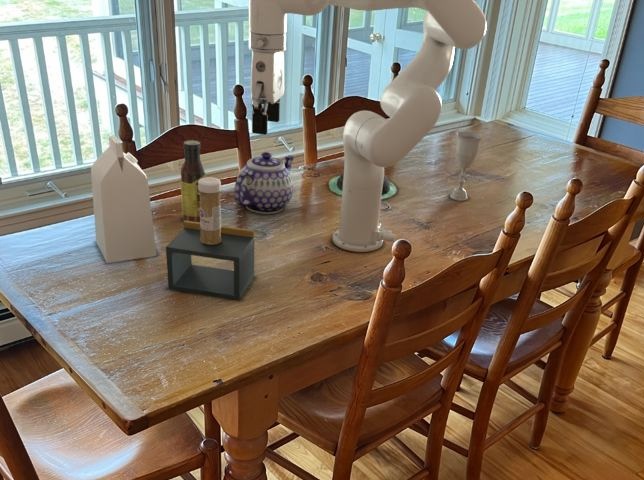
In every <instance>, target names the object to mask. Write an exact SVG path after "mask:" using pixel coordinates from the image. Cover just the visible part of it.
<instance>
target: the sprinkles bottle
mask: <svg viewBox="0 0 644 480" xmlns="http://www.w3.org/2000/svg"><path fill="white" fill-rule="evenodd" d="M205 177H206V178H202V179H200V180H199V181H198V189H199V192H200V222H199V223H200V227H201V238H200V240H201V242H202V243H203V244H206V245H216V244H218V243H220V242H221V226H222V204H221V190H222V182H221V180H220V179H219V178H216V177H214V176H213V177H212V176H208V177H207V176H205Z"/></svg>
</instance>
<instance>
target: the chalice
mask: <svg viewBox="0 0 644 480" xmlns="http://www.w3.org/2000/svg"><path fill="white" fill-rule="evenodd" d="M456 137H457V138H456V139H457V141H456V145H455V146H456V147H455V157H456V161H457V164H458V167H460V169H461V172H460V173H459V177H460V178H459V179H458V183H459V185H458V187H456V188H454V189H453V191H452V192H451V193H450V195H449V197H450V199H452V200H455V201H460V202H462V201H467V200H468V194H467V191H466V189H465V188H464V187H463V186H464V183H465V182H466V181H465V177H466V169H469V168H470V167H471V166H472V165H473V163H474V162H475V160H476V158H477V157H478V155H479V149H480V146H481V145H480V143H481V141H482V139H483V138H484V136H483V134H481V133H479V132H474V131H465V130H463V131H458V132H456Z"/></svg>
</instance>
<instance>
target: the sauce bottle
mask: <svg viewBox="0 0 644 480" xmlns="http://www.w3.org/2000/svg"><path fill="white" fill-rule="evenodd" d="M183 150H184V162H183V164H182V165H181V167H180V198H181V199H180V200H181V214H182V219H183V221H192V222H199V223H200V192H199V189H198V181H199V180H200V179H202V178H206V177H207V176H206V172H205V169H204V166H203V164H202V162H201V151H200V150H201V142H200V141H198V140H185V141H184V142H183Z"/></svg>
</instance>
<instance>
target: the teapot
mask: <svg viewBox="0 0 644 480" xmlns="http://www.w3.org/2000/svg"><path fill="white" fill-rule="evenodd" d="M272 156H273V155H272V154H271V153H270V152H268V151H264V152H262V153H261V154H260V156H256V157H252V158H249V159H248V160H247V161H246V164H245V165H244V166H243V167H242V168H241V169H240V170H239V171H238V174H237V178H236V180H235V184H234V188H233V189H234V190H233V197H234V201H235V202H236V204H237V205H239V206H240V207H245V208H246V209H247V210H249V211H251V212H253V213H255V214H261V215H269V214H270V215H272V214H277V213H279V212H281V211H282V210H283V208H284V207H286V206H287V205H288V204H290V202H291V200H292V198H293V194H294V179H293V175H292V173H291V172H292V171H291V170H292V164H293V160H294V159H295V156H294V155H289V154H287V155H285V157H284V158H283V160H282V159H279V158H276V157H272Z"/></svg>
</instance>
